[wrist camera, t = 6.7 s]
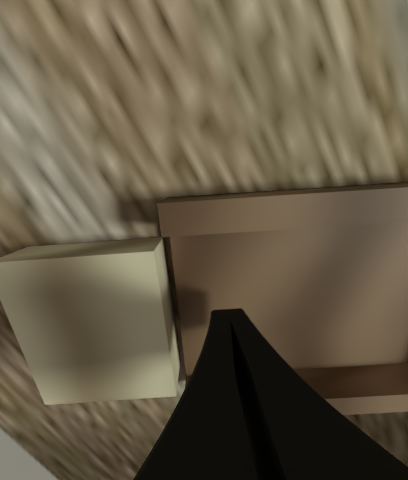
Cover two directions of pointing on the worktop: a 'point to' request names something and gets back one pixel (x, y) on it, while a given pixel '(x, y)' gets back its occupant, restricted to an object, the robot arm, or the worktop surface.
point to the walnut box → (303, 282)
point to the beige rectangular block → (94, 319)
